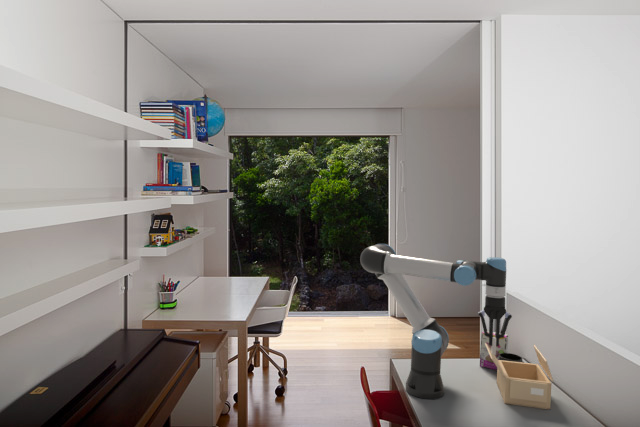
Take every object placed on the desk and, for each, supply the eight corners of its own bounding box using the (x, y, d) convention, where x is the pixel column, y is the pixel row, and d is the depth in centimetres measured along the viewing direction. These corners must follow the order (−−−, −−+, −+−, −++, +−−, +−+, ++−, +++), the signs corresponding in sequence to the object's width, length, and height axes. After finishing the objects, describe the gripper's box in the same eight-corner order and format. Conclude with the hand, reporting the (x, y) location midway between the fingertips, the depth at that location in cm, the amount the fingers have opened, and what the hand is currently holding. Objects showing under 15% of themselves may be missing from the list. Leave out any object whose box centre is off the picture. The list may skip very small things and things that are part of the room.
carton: (505, 404, 171) (506, 378, 171) (496, 382, 192) (497, 359, 192) (550, 410, 168) (552, 384, 167) (536, 387, 189) (538, 363, 188)
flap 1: (504, 376, 172) (503, 376, 172) (497, 359, 191) (496, 359, 191) (492, 358, 173) (491, 358, 173) (486, 343, 192) (485, 343, 192)
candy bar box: (479, 366, 210) (481, 332, 209) (481, 363, 214) (483, 329, 213) (504, 372, 204) (506, 336, 203) (506, 369, 208) (508, 334, 207)
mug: (531, 380, 196) (532, 359, 196) (507, 381, 194) (508, 361, 193) (517, 371, 205) (518, 352, 205) (493, 373, 203) (494, 353, 202)
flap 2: (539, 363, 187) (540, 363, 187) (552, 381, 169) (553, 381, 168) (533, 345, 187) (534, 344, 187) (545, 361, 169) (546, 360, 169)
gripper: (479, 296, 179) (477, 355, 180) (514, 299, 176) (512, 358, 177) (477, 293, 186) (475, 349, 187) (510, 295, 183) (508, 352, 184)
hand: (493, 353), depth 182 cm, fingers closed
